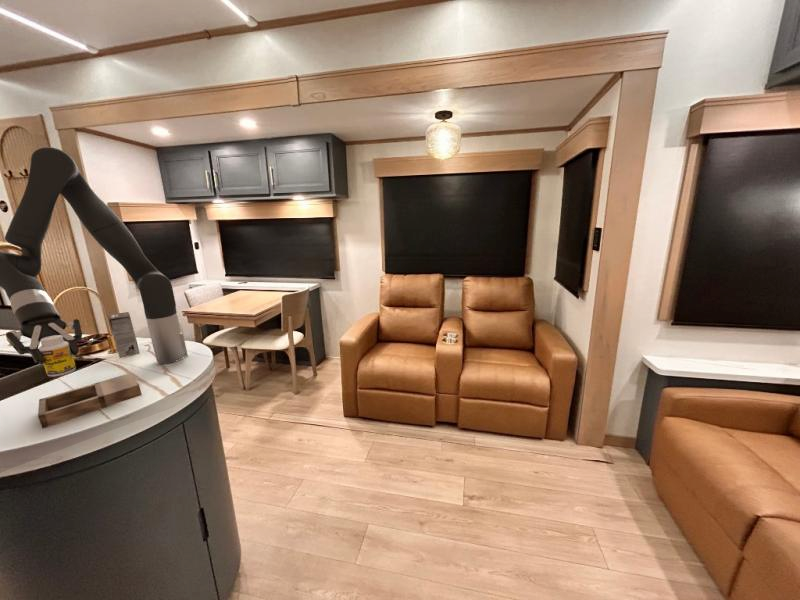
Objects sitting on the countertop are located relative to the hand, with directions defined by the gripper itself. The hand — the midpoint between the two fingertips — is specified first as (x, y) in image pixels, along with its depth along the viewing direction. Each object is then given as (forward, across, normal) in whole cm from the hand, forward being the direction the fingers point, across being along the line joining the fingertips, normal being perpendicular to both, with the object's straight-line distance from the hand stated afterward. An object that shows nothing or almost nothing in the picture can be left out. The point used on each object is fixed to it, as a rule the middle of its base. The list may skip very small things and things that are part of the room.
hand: (59, 357), depth 84 cm
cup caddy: (+11, +4, +12) cm, 16 cm away
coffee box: (-16, +24, +39) cm, 49 cm away
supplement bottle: (+2, 0, +5) cm, 5 cm away
